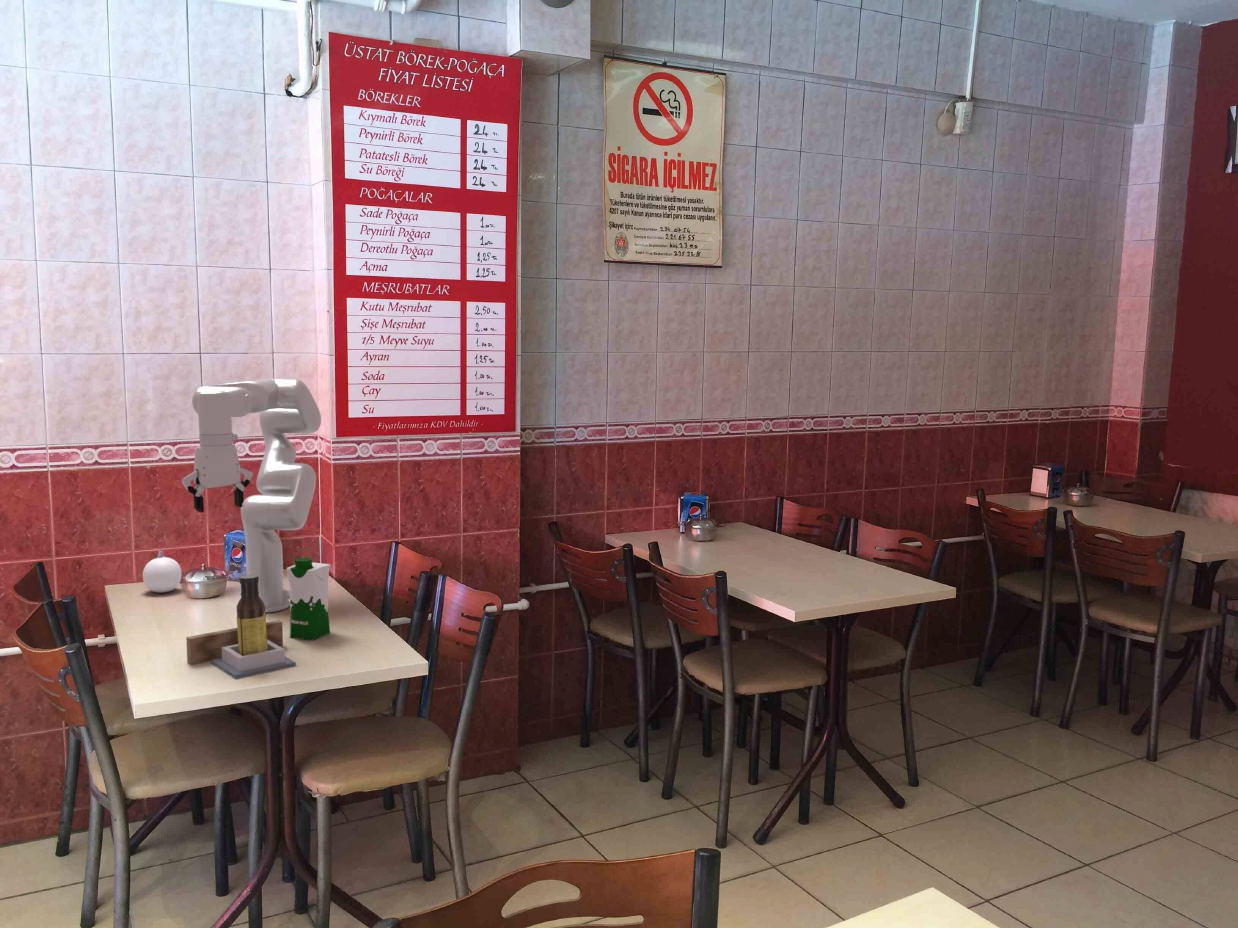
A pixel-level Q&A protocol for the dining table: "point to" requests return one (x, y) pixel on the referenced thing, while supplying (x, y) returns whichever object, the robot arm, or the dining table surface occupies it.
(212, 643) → the walnut wall
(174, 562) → the ornament
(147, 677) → the dining table surface
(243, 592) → the sauce bottle
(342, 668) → the dining table surface
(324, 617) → the milk carton
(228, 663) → the holder
